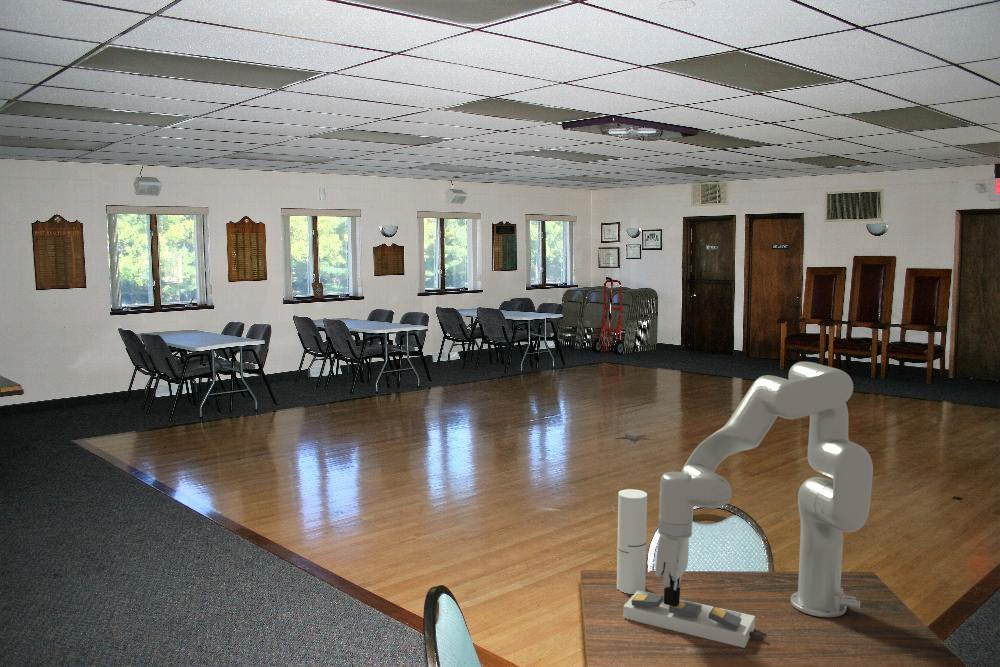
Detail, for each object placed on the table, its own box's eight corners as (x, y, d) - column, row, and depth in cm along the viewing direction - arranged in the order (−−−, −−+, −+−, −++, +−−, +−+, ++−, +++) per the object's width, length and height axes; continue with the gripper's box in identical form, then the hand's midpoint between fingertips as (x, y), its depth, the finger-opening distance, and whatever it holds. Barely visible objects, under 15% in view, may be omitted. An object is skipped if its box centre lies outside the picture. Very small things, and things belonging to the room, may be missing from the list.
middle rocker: (701, 610, 184) (701, 605, 184) (696, 618, 180) (696, 612, 180) (674, 605, 187) (674, 600, 187) (668, 612, 183) (668, 607, 183)
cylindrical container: (644, 595, 200) (646, 499, 197) (615, 593, 202) (617, 497, 199) (645, 583, 207) (647, 490, 204) (617, 581, 209) (619, 488, 206)
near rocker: (740, 623, 180) (741, 618, 179) (736, 630, 176) (737, 625, 176) (712, 610, 182) (714, 605, 182) (708, 617, 179) (709, 612, 179)
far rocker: (663, 600, 188) (662, 594, 188) (658, 607, 185) (657, 601, 185) (637, 598, 191) (637, 593, 191) (632, 605, 188) (631, 600, 188)
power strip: (768, 631, 182) (768, 618, 182) (758, 651, 174) (759, 637, 173) (637, 601, 197) (638, 588, 197) (623, 618, 189) (623, 605, 188)
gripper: (669, 514, 191) (666, 588, 193) (648, 533, 178) (644, 612, 180) (700, 520, 187) (696, 595, 189) (681, 540, 174) (677, 621, 176)
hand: (671, 603), depth 185 cm, fingers closed
